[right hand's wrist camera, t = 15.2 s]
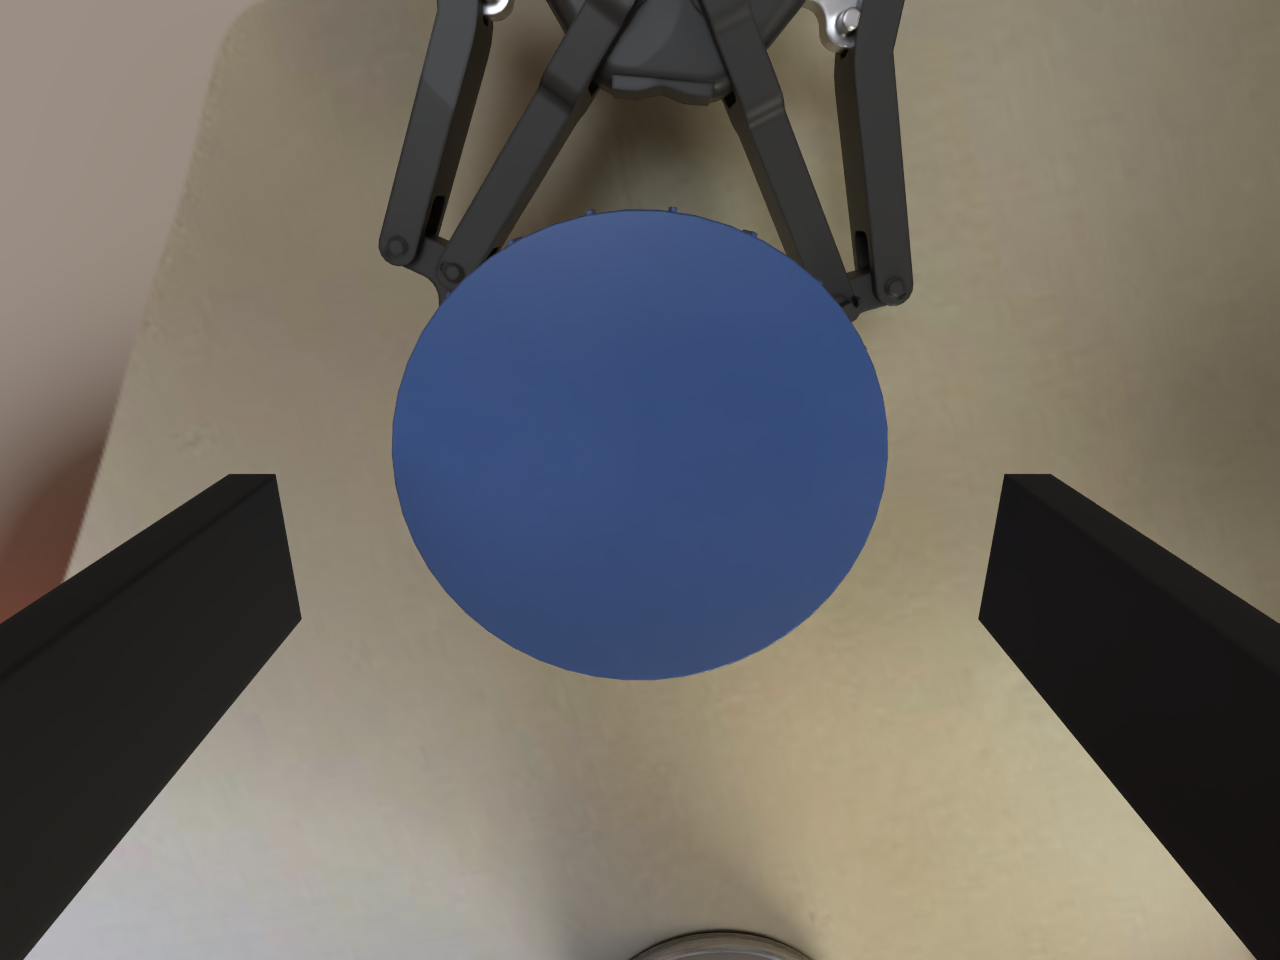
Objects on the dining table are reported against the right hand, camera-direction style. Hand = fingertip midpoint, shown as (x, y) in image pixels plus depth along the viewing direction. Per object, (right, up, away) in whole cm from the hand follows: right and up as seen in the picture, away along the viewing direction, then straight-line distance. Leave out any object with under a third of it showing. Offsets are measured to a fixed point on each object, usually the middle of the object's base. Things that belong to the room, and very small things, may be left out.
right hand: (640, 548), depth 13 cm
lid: (0, +1, +4) cm, 4 cm away
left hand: (0, +1, +15) cm, 16 cm away
